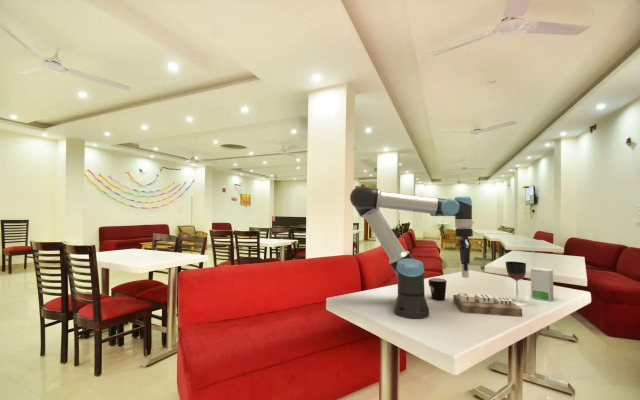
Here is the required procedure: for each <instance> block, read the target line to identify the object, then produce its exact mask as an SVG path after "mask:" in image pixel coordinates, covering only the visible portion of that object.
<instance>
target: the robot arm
mask: <svg viewBox="0 0 640 400" xmlns="http://www.w3.org/2000/svg"><path fill="white" fill-rule="evenodd" d="M349 200H350V203H351V205H352V206H353V207H354V208H355V210H356V212H357V213H358V215H359V216H360V218H364V220H366V222H367V224H368V225H369V227H370V229H371V230H372V232H373V234H374V236H375V237H376V238H377V240H378V242H379V244H380V245H381V247H382V248H383V250H384V252H385V253H386V255H387V256H388V258H389V260H388V265H390V267H391V268H392V270H393V273H394V275H396V278H397V296H396V299H395V303H394V307H393V311H394V313H395V315H397V314H398V315H397V316H399V315H400V317H402V316H403V318H407V319H424V318H428V317H429V316H430V308H429V304H428V302H427V300H426V296H425V268H424V263H423V261H421V260H419V259H415V258H414V257H413V256H412V254H411V252H410V251H408V250H405V249H404V247H403V245H402V244H401V242H400V240H399V239H398V238H397V236H396V234H395V233H394V231H393V229H392V228H391V226H390V225H389V223H388V221H387V220H386V218H385V217H384V216H383V213H382V212H381V210H380V208H382V209H388V210H389V209H391V210H398V211H399V210H400V211H406V212H414V213H422V214H429V215H430V217H454V225H455V226H454V227H455V230H454V231H455V236H456V237H459V240H458V246H459V260H460V264H461V277H462V278H466V279H467V278H468V279H469V278H470V275H469V274H470V273H469V271H470V270H469V264H470V263H471V262H470V261H471V260H470V257H471V242H470V240H469V238H471V237H473V235H474V232H473V224H474V221H473V204H472V203H473V202H472V198H471V197H470V196H456V197H454V199H453V198H439V197H432V196H425V195H424V196H423V195H422V196H421V195H416V194H415V195H414V194H405V193H396V192H388V191H381V189H380V188H373V187H370V186H369V187H368V186H366V185H365V186H364V185H358V186H356V187H355V188H354V189H353V190H351V192H350V195H349Z"/></svg>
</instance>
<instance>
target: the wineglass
mask: <svg viewBox="0 0 640 400" xmlns="http://www.w3.org/2000/svg"><path fill="white" fill-rule="evenodd" d="M505 269H506V273H507V275H508V277H509V278H511V279H513V280H514V281H515V292H516V293H515V294H516V295H515V297H516V300H515V301H514V300H512V301H513V302H514V304H516V305H517V306H518V307H520V306H521V307H524V306H527V305H528V304H527V303H525V302H522V301H520V300H519V284H518V281H521V280H522V279H524V278H525V276H526V274H527V272H526V271H527V263H525V262H521V261H511V260H510V261H505Z"/></svg>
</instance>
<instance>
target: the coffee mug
mask: <svg viewBox="0 0 640 400" xmlns="http://www.w3.org/2000/svg"><path fill="white" fill-rule="evenodd" d="M427 282H428V286H429V288H430V289H429V290H430V293H431V299H432V300H434V301H439V302H440V301H441V302H443V301H445V300H446V290H447V279H445V278H439V277H431V278H429V279H428V281H427Z"/></svg>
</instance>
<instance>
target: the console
mask: <svg viewBox="0 0 640 400" xmlns="http://www.w3.org/2000/svg"><path fill="white" fill-rule="evenodd" d="M473 296H474V297H475V302H463V301H460V300H459V299H458V294H453V303H454V304H455V305H456V306H457V308H458V310H459V312H461V313H464V314H465V313H466V314H480V315H493V316H507V317H520V318H521V317H523V308H521V307H520V306H519V305H516V304H514V305H504V304H497V303H496V302H495V301H494V303H479V302H478V301H477V300H476V295H473ZM492 297H493V298H494V297H495V296H492Z"/></svg>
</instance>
